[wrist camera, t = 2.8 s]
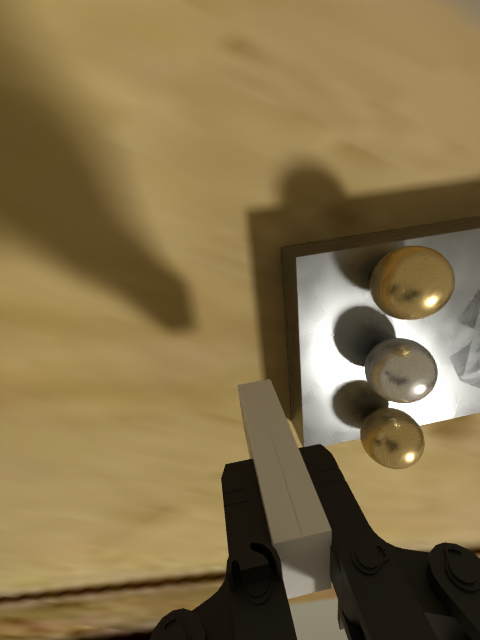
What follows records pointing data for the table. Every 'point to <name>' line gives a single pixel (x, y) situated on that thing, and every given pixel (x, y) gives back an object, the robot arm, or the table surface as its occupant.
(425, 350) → the steel ball
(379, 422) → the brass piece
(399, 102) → the table surface
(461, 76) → the table surface
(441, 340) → the bearing plate
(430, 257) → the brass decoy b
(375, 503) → the table surface
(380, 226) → the table surface
